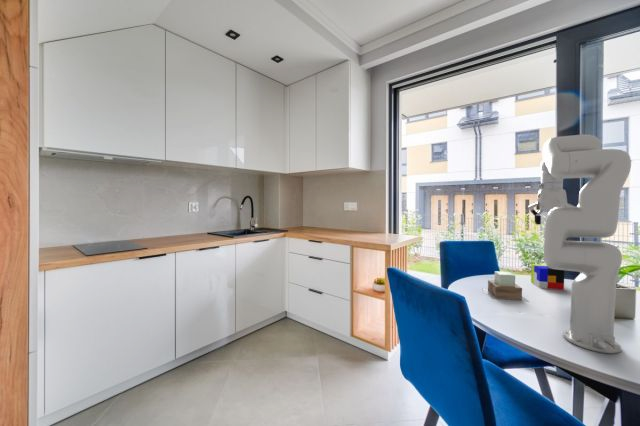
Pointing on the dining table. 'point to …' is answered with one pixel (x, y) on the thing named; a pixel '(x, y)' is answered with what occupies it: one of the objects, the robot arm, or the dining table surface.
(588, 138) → the robot arm
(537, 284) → the puzzle toy
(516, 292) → the walnut block
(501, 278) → the sage brick
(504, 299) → the baseplate
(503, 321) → the dining table surface
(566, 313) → the dining table surface
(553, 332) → the dining table surface
